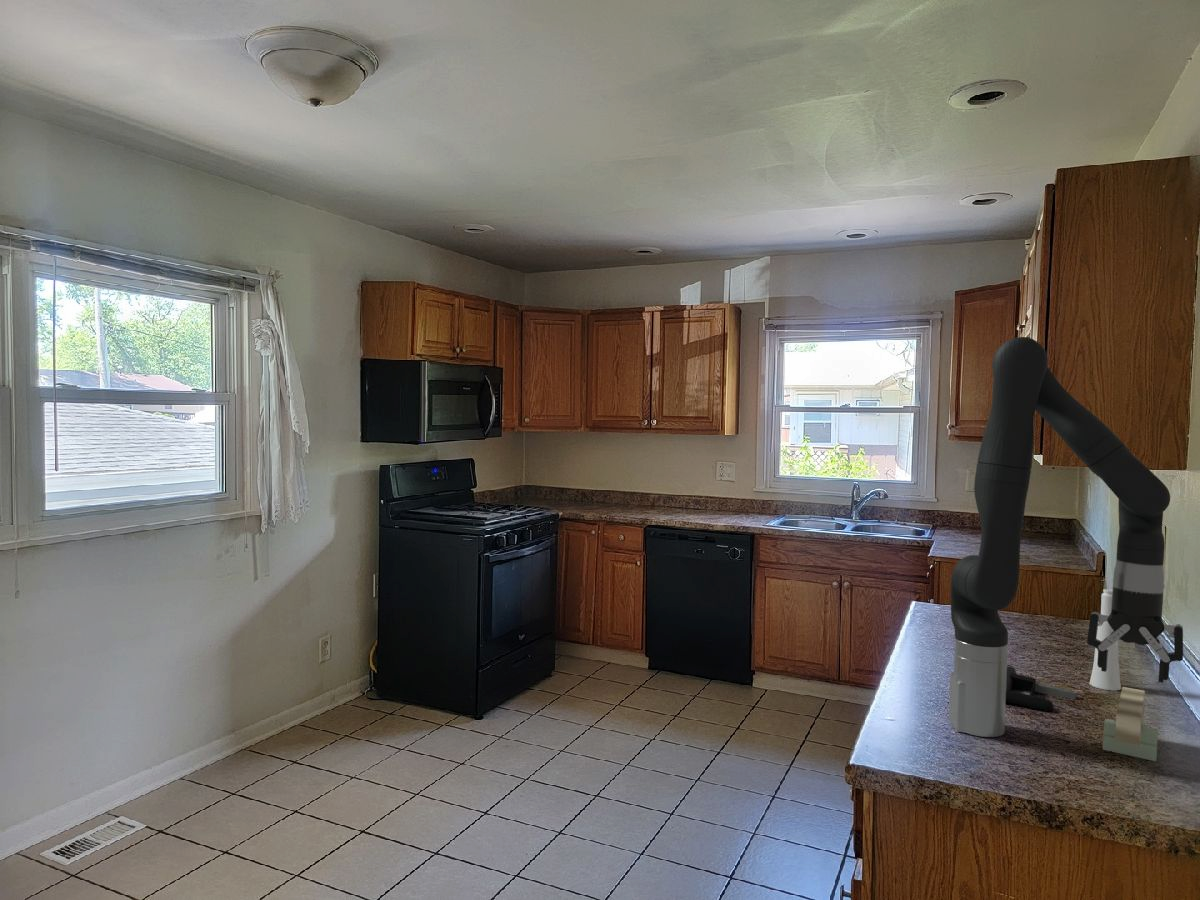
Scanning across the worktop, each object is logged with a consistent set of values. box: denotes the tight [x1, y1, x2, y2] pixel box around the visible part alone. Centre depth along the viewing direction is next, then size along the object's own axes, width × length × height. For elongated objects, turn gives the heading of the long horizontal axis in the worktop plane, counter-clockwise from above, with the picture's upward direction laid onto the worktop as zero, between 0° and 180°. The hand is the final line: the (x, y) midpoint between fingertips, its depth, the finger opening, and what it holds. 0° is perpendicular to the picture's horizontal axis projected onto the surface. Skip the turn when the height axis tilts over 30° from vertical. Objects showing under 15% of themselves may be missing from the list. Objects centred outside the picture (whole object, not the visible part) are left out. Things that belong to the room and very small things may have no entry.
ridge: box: [1102, 718, 1159, 762], centre depth 142 cm, size 5×8×4 cm, turn 53°
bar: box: [1115, 686, 1146, 745], centre depth 142 cm, size 18×4×4 cm, turn 143°
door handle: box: [1006, 665, 1078, 713], centre depth 171 cm, size 3×20×16 cm
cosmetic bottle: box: [1089, 588, 1122, 692], centre depth 177 cm, size 6×6×22 cm
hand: (1132, 676), depth 142 cm, fingers open, 8 cm apart
